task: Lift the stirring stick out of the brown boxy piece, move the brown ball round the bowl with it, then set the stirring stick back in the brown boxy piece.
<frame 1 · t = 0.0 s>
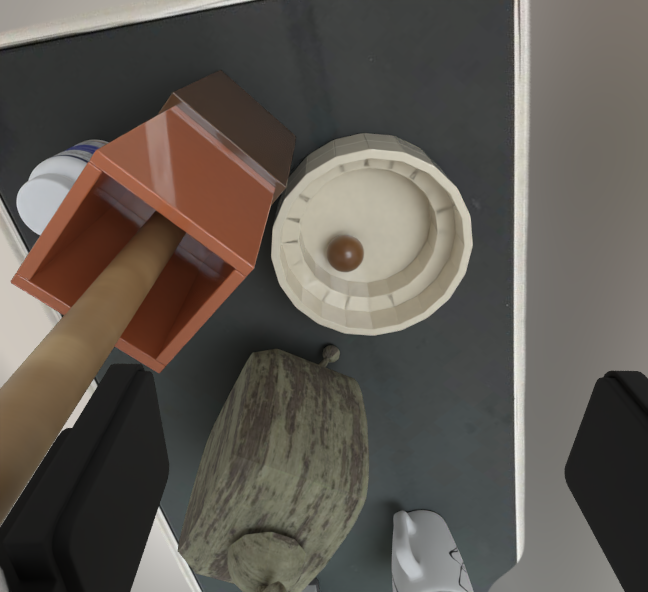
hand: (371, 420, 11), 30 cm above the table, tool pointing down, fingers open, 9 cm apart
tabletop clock: (281, 377, 48), on the table
brown ball: (345, 253, 39), point 2 cm above the table, touching bowl
brown boxy piece: (231, 141, 37), on the table
stirring stick: (189, 196, 25), point 14 cm above the table, touching brown boxy piece
bowl: (364, 221, 40), on the table
pill bottle: (104, 172, 38), on the table
mug: (413, 517, 59), on the table
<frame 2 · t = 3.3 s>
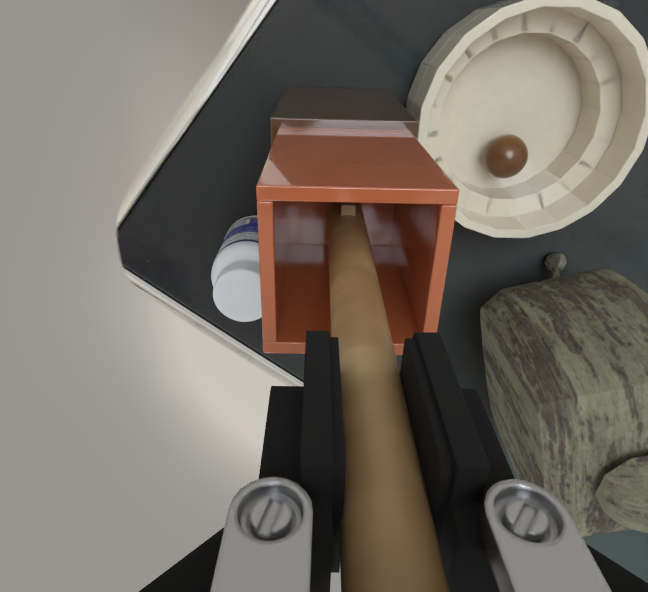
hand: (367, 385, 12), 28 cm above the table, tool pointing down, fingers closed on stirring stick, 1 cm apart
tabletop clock: (519, 316, 44), on the table
brown ball: (505, 156, 35), point 2 cm above the table, touching bowl
brown boxy piece: (334, 139, 36), on the table
stirring stick: (342, 195, 24), point 14 cm above the table, touching brown boxy piece, gripper
bowl: (502, 114, 35), on the table
pill bottle: (257, 243, 40), on the table
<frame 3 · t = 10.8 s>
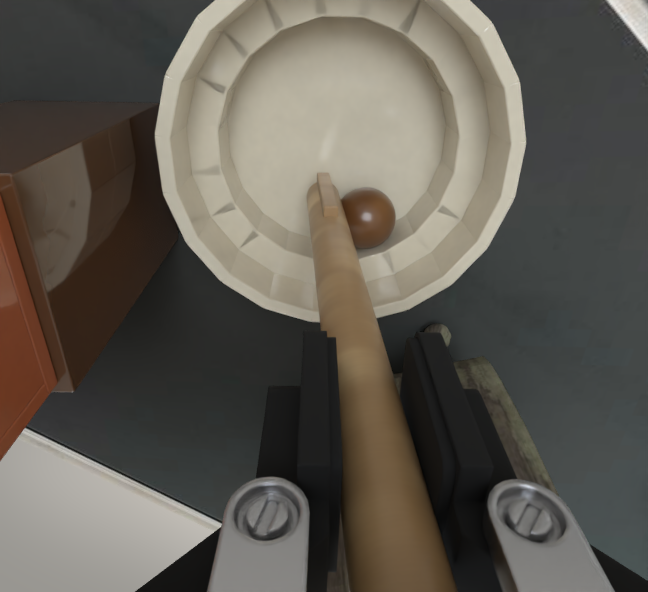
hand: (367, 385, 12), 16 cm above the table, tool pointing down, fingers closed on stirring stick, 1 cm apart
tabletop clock: (403, 401, 33), on the table
brown ball: (365, 218, 24), point 2 cm above the table, tilted 62°, touching bowl, stirring stick
brown boxy piece: (101, 174, 25), on the table
stirring stick: (322, 196, 24), point 2 cm above the table, touching gripper, brown ball
bowl: (336, 137, 25), on the table
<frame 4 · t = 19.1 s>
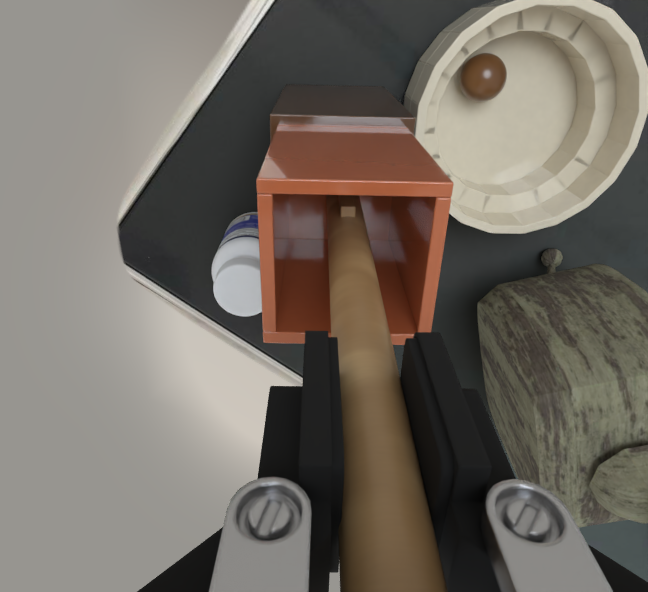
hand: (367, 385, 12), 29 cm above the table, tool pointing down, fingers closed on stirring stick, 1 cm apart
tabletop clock: (516, 312, 44), on the table
brown ball: (482, 78, 33), point 2 cm above the table, tilted 131°, touching bowl
brown boxy piece: (333, 136, 37), on the table
stirring stick: (342, 196, 24), point 14 cm above the table, touching gripper
bowl: (499, 111, 36), on the table
pill bottle: (257, 239, 41), on the table
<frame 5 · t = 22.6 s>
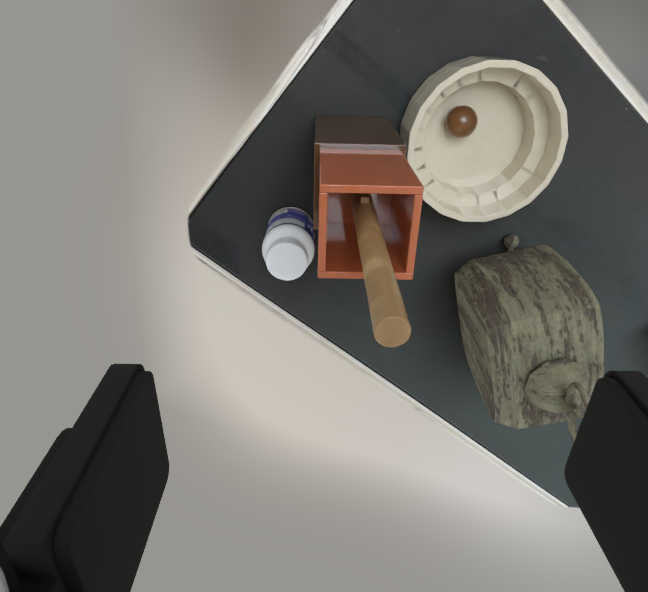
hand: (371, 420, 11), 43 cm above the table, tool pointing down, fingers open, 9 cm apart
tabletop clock: (487, 283, 58), on the table
brown ball: (461, 121, 47), point 2 cm above the table, tilted 153°, touching bowl
brown boxy piece: (349, 151, 50), on the table
stirring stick: (359, 192, 39), point 14 cm above the table, touching brown boxy piece
bowl: (469, 134, 50), on the table
pill bottle: (291, 228, 55), on the table
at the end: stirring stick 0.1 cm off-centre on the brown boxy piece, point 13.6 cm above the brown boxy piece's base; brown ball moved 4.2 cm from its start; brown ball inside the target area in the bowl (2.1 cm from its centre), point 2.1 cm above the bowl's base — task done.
